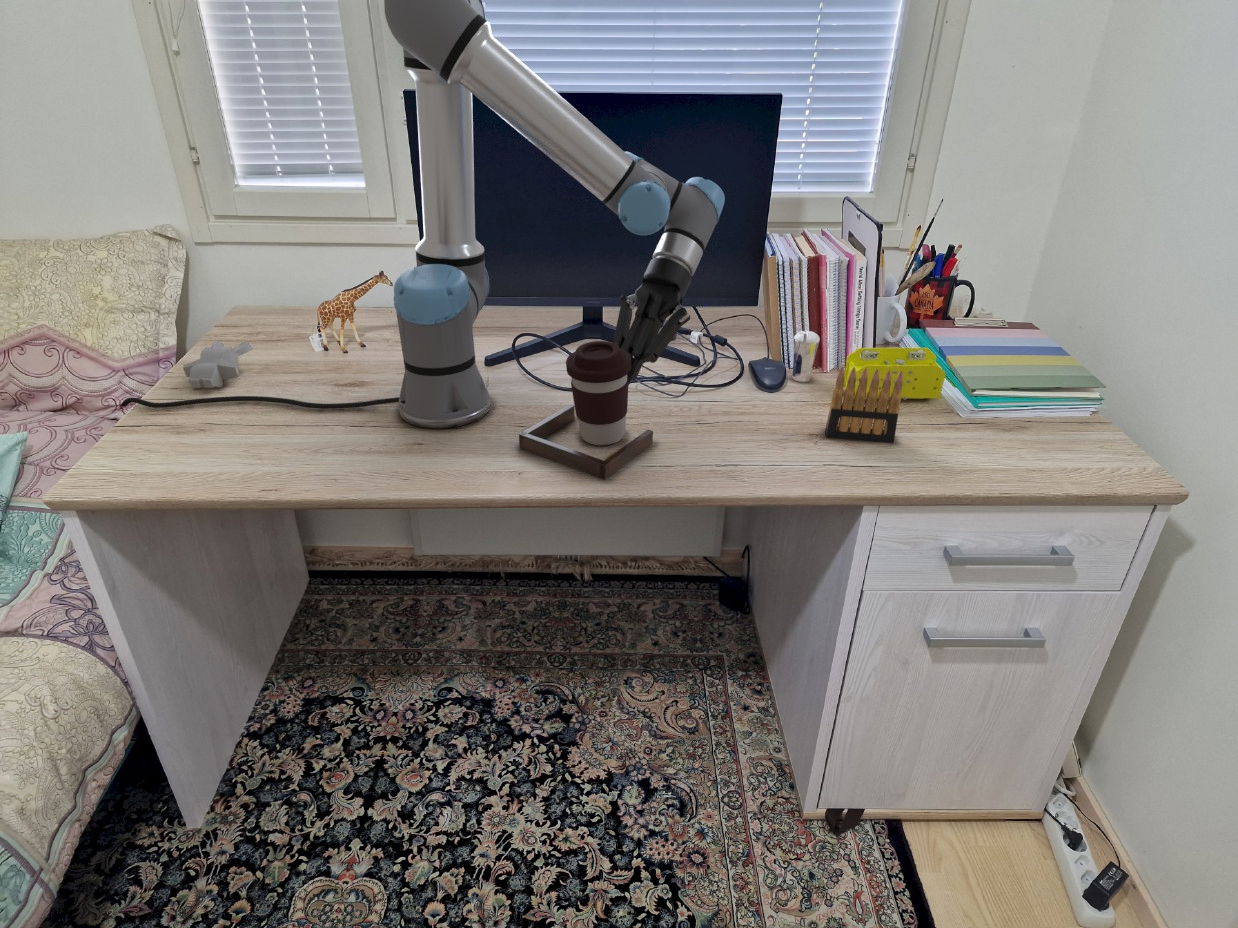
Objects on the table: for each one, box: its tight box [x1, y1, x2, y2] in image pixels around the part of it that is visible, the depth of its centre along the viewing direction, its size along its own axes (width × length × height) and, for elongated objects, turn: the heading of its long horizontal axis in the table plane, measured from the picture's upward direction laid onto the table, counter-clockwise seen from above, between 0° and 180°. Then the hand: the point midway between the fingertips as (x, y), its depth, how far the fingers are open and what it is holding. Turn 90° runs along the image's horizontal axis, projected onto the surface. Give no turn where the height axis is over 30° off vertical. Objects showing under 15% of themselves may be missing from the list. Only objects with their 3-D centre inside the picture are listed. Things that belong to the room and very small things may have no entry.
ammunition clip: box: [824, 366, 903, 444], centre depth 120 cm, size 11×2×12 cm, turn 80°
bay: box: [518, 404, 654, 480], centre depth 119 cm, size 13×16×2 cm
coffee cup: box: [565, 340, 631, 446], centre depth 119 cm, size 10×10×15 cm
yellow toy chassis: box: [843, 347, 946, 401], centre depth 135 cm, size 16×6×8 cm, turn 91°
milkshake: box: [792, 330, 821, 383], centre depth 140 cm, size 5×5×10 cm
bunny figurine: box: [182, 341, 254, 389], centre depth 141 cm, size 10×5×15 cm
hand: (615, 394), depth 122 cm, fingers closed
